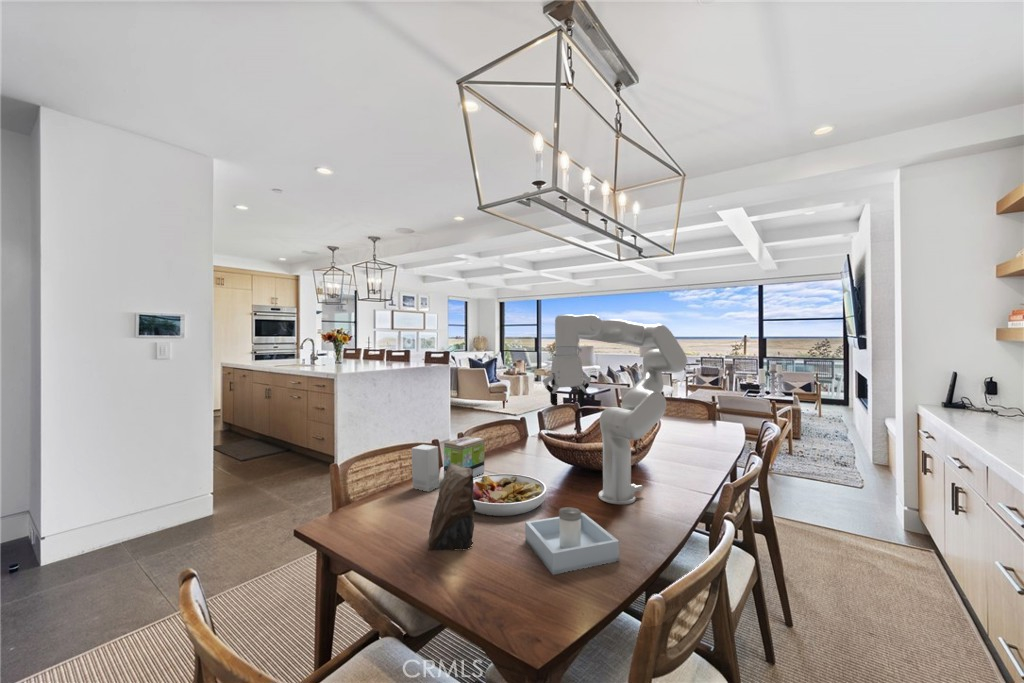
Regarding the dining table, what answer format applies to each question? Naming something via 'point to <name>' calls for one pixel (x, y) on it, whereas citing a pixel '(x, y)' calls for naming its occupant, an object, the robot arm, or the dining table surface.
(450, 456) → the tea box
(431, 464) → the skincare box
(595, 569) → the dining table surface
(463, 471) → the owl
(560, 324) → the robot arm
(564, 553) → the tote
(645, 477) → the dining table surface
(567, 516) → the canister
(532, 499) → the bowl
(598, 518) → the dining table surface
